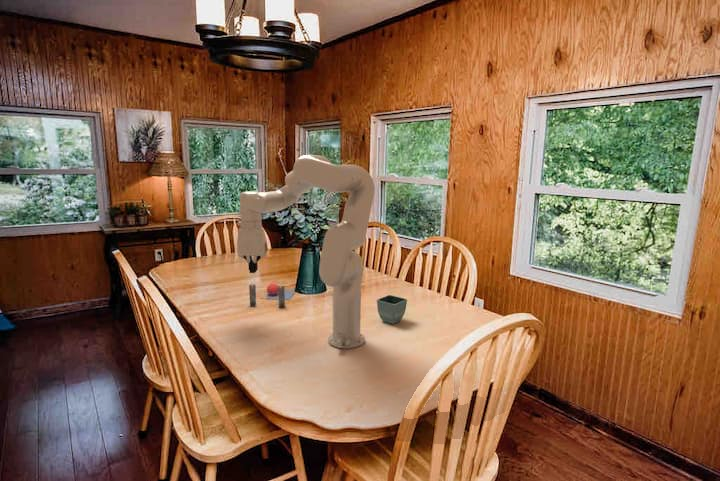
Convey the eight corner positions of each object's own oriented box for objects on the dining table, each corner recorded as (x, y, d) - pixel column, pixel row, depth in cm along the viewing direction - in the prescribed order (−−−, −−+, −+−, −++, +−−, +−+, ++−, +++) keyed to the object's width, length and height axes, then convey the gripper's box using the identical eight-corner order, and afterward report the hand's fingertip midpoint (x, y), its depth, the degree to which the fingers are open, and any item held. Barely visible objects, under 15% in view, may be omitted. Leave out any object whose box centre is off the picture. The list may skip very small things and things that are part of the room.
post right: (284, 308, 173) (283, 287, 172) (278, 307, 174) (277, 287, 172) (285, 305, 176) (285, 285, 174) (279, 305, 176) (279, 285, 175)
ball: (279, 297, 191) (276, 294, 186) (267, 296, 191) (264, 293, 186) (281, 285, 193) (278, 282, 188) (269, 284, 193) (266, 281, 188)
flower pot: (388, 315, 167) (389, 294, 165) (407, 320, 161) (407, 299, 159) (375, 321, 160) (376, 299, 158) (394, 327, 154) (394, 304, 153)
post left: (255, 306, 175) (254, 286, 173) (249, 306, 175) (248, 286, 173) (257, 304, 177) (256, 284, 176) (251, 304, 177) (250, 284, 176)
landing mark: (289, 299, 184) (289, 299, 184) (258, 298, 185) (258, 298, 185) (297, 290, 197) (297, 289, 197) (268, 289, 199) (268, 288, 199)
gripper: (227, 225, 151) (230, 274, 154) (267, 226, 149) (269, 275, 153) (236, 222, 158) (238, 269, 162) (273, 223, 157) (275, 270, 160)
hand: (253, 272), depth 157 cm, fingers closed
